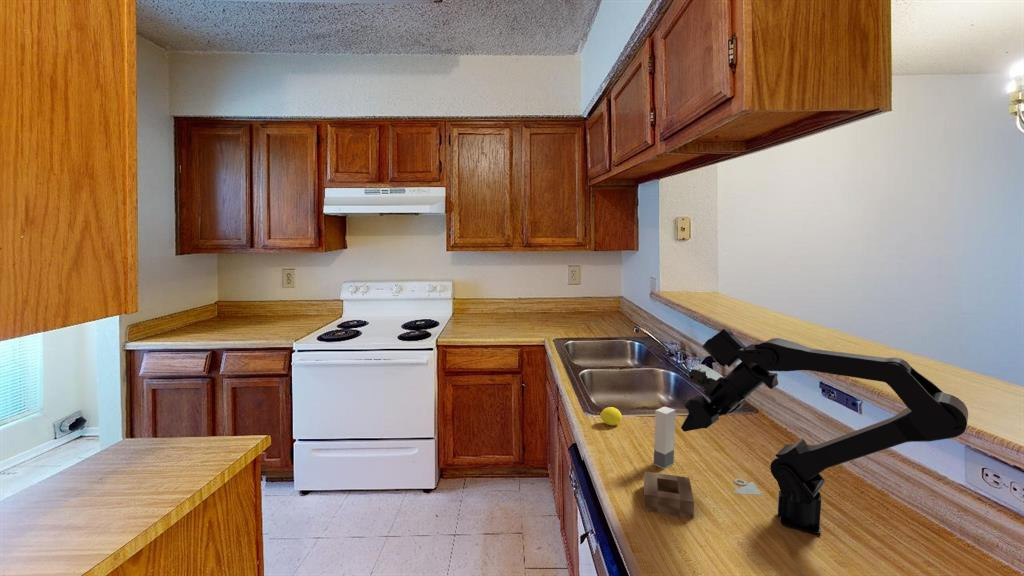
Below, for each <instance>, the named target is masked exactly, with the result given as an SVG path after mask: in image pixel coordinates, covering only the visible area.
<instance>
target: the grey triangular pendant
mask: <svg viewBox="0 0 1024 576" xmlns="http://www.w3.org/2000/svg"><path fill="white" fill-rule="evenodd" d="M740 482H742V483H740ZM733 483H734V484H735V485H737V486H740V487H739V488H737V489H734V490H732V491H733V493H735V494H740V495H755V496H756V495H757V496H761V495H762V494H763V493H762V492H761V490H760V489H759V488H758V487H757V485H756V484H755V483H754V482H753V481H751V482H747V481H745V480H744V479H742V478H734V479H733Z"/></svg>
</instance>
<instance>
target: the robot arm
mask: <svg viewBox="0 0 1024 576" xmlns="http://www.w3.org/2000/svg"><path fill="white" fill-rule="evenodd" d="M701 347H702V349H703V350H704V351H705V352H706V353H707V354H708V355H709V356H710V357H711V358H712V359H713V360H714V361H715V362H716V363H717V364H718V365H719V366H720V367H722V368H725V367H728V368H732V367H733V366H734V365H735V364H737V363H738V362H739V361H741V362H740V363H739V364H737V365H736V366H734V367H733V368H732V370H731V371H729V372H728V373H726V374H725V375H724V376H723V375H721V374H720V373H719V372H717V371H716V370H714V369H713V368H710V367H708V366H707V365H705V364H701V363H699V364H697V365H694V366H693V367H692V369H691V370H690V371H689V372H687V374H688V380H689V382H691V383H694V384H696V385H697V386H700V387H701V388H702V389H705V390H703V393H704V394H705V395H706V396H707V397H709V398H708V399H709V401H710V402H709V401H708V400H707V399H706V398H705V397H704V396H701V395H695V396H694V397H691V398H689V399H688V401H686V402H685V403H684V407H685V409H686V410H687V411H688V414H687V416H686V418H685V419H684V421H683V423H682V425H681V427H680V429H681V430H682V431H683V432H684V433H686V432H690V431H695V430H700V429H708V428H710V427H712V426H713V425H714V424H715V423H716V422H718V421H719V420H720V416H724V415H727V414H728V415H729V414H731V413H733V412H735V411H736V410H738V409H741V407H742V406H743V405H744V406H745V404H746V401H747V400H746V399H747V398H748V397H750V396H751V394H752V393H753V392H755V391H756V390H757V389H758V388H760V386H763V384H764V385H765V386H766V387H768V388H769V389H770V390H773V389H774V388H775V387H777V386H778V385H779V381H778V375H779V373H777V372H796V371H810V372H817V373H823V374H830V375H837V376H844V377H848V378H849V377H850V378H856V379H863V380H867V381H868V380H869V381H876V382H882V383H886V384H887V386H888V387H889V388H891V389H892V390H893V392H894V393H895V394H896V395H897V397H898V398H899V399H900V400H901V401H902V402H903V404H904V405H905V406H906V408H904V409H903V410H901V411H900V412H898V413H897V414H896V415H894V416H891V417H890V418H887V419H884V420H882V421H881V420H880V421H879V422H875V423H874V424H871V425H868V426H865V427H863V428H862V427H861V428H860V429H857V430H854V431H851V432H849V433H846V434H844V435H841V436H840V435H839V436H837V437H836V438H833V439H830V440H826V441H824V442H822V443H819V444H807V442H806V440H805V439H804V438H801V439H799V440H798V441H796V442H794V443H791V444H785V445H784V446H783V447H781V449H780V450H779V451H777V452H776V454H775V458H773V459H772V461H771V463H770V468H769V469H770V473H771V475H772V477H773V479H775V481H776V482H777V485H778V488H779V491H778V499H777V516H778V517H779V518H780V522H779V523H780V524H781V525H782V526H785V527H787V528H793V529H796V530H799V531H804V532H807V533H811V534H814V535H817V536H819V535H822V530H821V525H820V524H821V513H822V495H821V492H820V490H821V489H822V487H823V485H824V484H825V483H826V480H825V478H824V477H823V476H822V475H821V473H822V472H823V471H825V470H827V469H830V468H832V467H835V466H839V465H841V464H844V463H847V462H851V461H853V460H856V459H859V458H863V457H866V456H868V455H871V454H874V453H878V452H881V451H884V450H887V449H890V448H892V447H897V446H899V445H903V444H905V443H914V442H915V443H916V442H917V443H920V442H921V443H922V442H934V441H941V440H948V439H949V440H951V439H954V438H957V437H959V436H961V435H963V434H964V433H965V431H966V430H967V426H968V419H969V410H968V407H967V405H966V404H965V402H964V401H962V400H961V399H960V398H958V397H957V396H955V395H952V394H950V393H945V392H944V391H943V390H942V389H940V387H938V386H937V385H936V384H935V383H934V382H932V381H931V380H929V379H928V378H927V377H925V375H922V374H921V373H919V372H918V371H917V370H916V369H915V368H914V367H912V366H911V364H910V363H909V362H908V361H906V360H905V359H903V358H900V357H882V356H875V355H874V356H873V355H868V354H867V355H865V354H859V353H857V354H856V353H851V352H850V353H849V352H843V351H834V350H833V351H832V350H825V349H818V348H817V349H816V348H812V347H809V346H805V345H803V344H800V343H798V342H794V341H791V340H787V339H783V338H779V337H776V338H774V337H773V338H770V339H767V340H766V341H763V342H760V343H756V344H755V343H751V344H749V345H747V346H746V345H745V344H744V343H743V341H741V340H740V339H739V338H737V336H736V335H735V334H734V333H733V331H731V330H730V328H729V327H725V328H723V329H721V330H720V331H719V332H717V333H716V334H715V335H714V336H712V337H711V338H708V339H707V340H706V341H705V343H704V344H703V345H702V346H701Z"/></svg>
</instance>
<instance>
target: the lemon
mask: <svg viewBox="0 0 1024 576" xmlns="http://www.w3.org/2000/svg"><path fill="white" fill-rule="evenodd" d="M599 417H600V418H601V420H602V422H603V423H605V425H608V426H612V427H613V426H616V425H618V424H620V423H621V421H622V420H623V416H622V413H621V411H620V410H619V409H618V408H616V407H611V406H609V407H606V408H603V410H602V411H601V412H600V414H599Z"/></svg>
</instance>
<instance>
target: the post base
mask: <svg viewBox="0 0 1024 576" xmlns="http://www.w3.org/2000/svg"><path fill="white" fill-rule="evenodd" d="M643 472H644V473H643V474H644V475H643V511H647V512H652V513H659V514H663V515H664V514H665V515H669V516H670V515H671V516H675V517H676V516H677V517H683V518H689V519H694V517H695V514H694V513H695V499H694V494H693V488H692V485H691V484H692V483H691V479H690V477H686V476H681V475H674V474H665V473H659V472H651V471H646V470H645V471H643Z"/></svg>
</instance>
